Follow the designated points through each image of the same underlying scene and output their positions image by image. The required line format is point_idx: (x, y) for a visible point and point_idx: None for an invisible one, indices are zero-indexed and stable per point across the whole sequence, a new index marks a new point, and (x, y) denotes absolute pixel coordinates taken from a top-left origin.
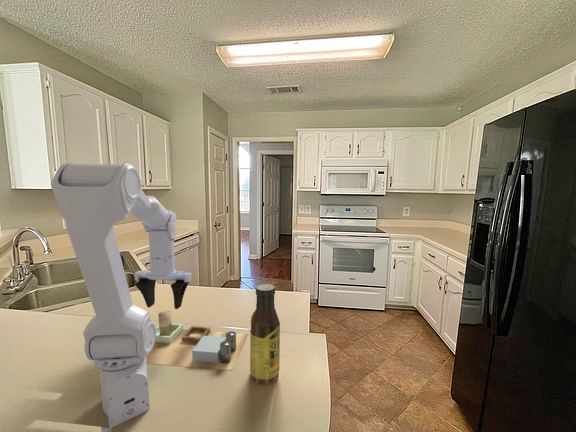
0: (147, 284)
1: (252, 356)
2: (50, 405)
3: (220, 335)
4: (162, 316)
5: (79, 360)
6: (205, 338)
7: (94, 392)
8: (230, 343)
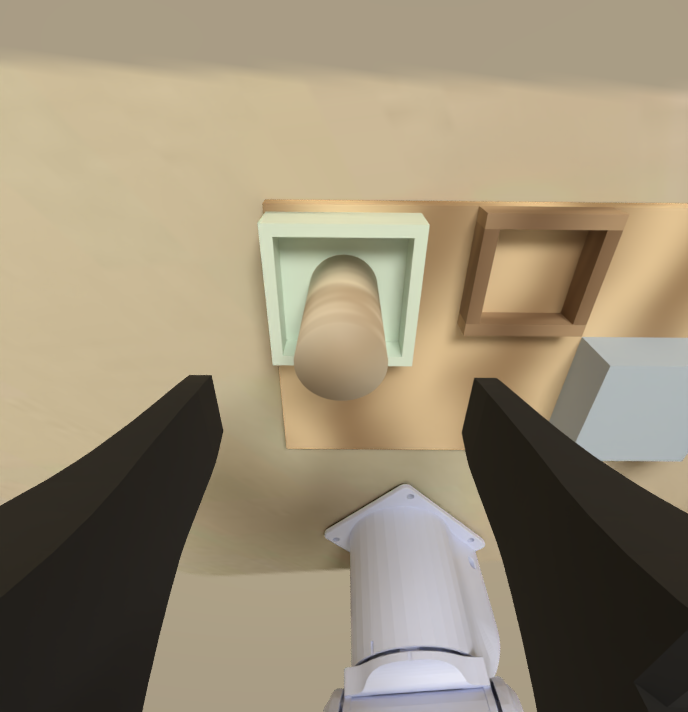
0: (114, 706)
1: None
2: (223, 545)
3: (678, 245)
4: (348, 397)
5: (96, 434)
6: (622, 385)
7: (291, 517)
8: None
